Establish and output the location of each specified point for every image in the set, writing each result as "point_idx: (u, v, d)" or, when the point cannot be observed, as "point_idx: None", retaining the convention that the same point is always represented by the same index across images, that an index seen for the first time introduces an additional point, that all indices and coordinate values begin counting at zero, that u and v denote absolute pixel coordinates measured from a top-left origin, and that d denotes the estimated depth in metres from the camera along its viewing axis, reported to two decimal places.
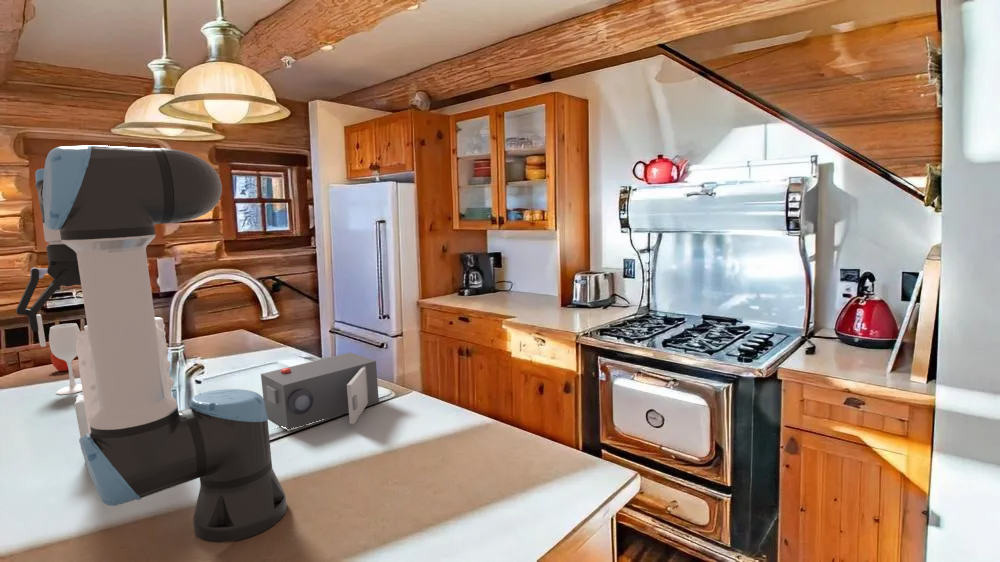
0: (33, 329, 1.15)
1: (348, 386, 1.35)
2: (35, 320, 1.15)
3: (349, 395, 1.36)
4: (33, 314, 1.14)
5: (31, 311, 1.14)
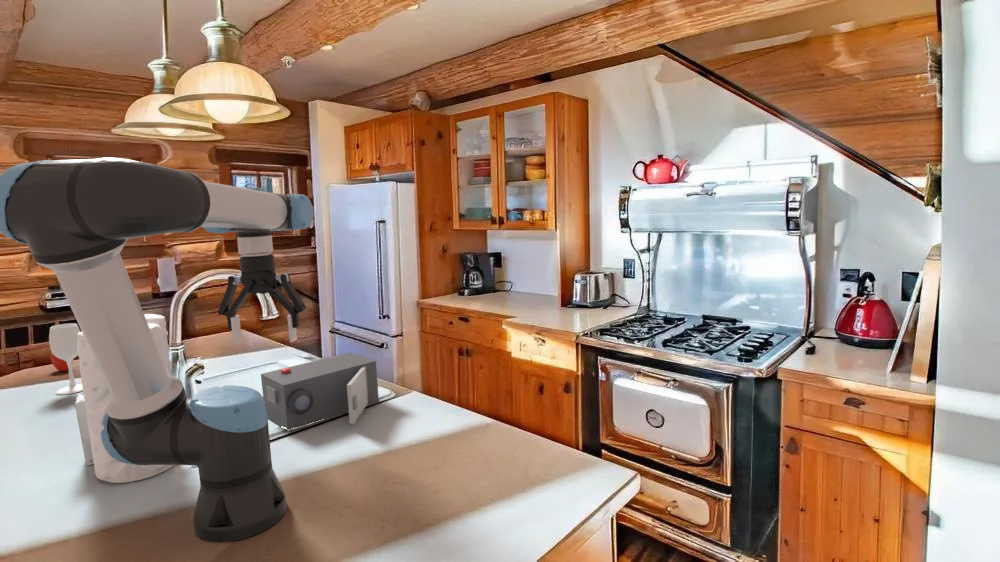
0: (229, 328, 1.33)
1: (348, 386, 1.35)
2: None
3: (349, 395, 1.36)
4: (228, 315, 1.32)
5: (227, 313, 1.32)
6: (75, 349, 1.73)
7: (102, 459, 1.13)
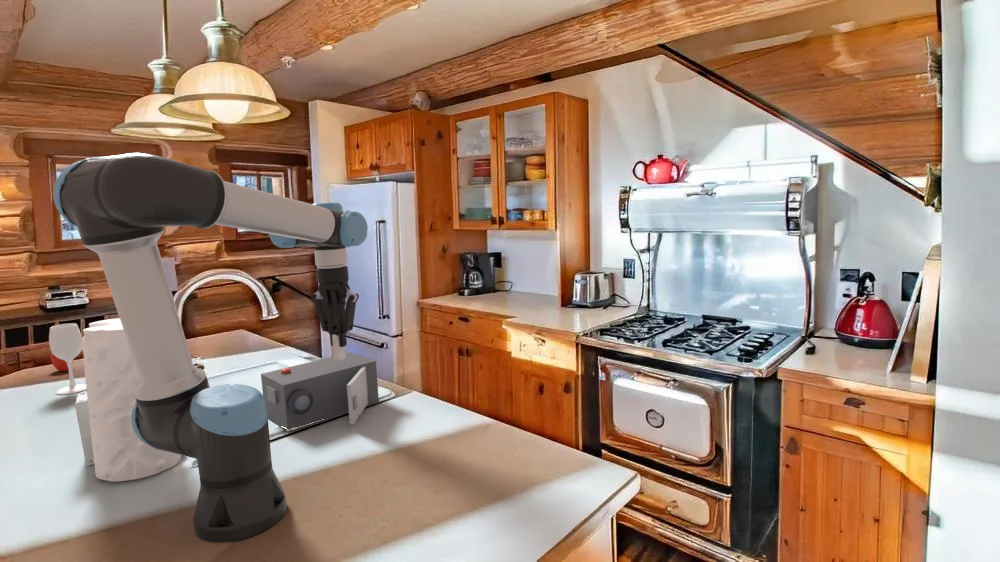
0: (332, 344, 1.39)
1: (348, 386, 1.35)
2: None
3: (349, 395, 1.36)
4: (330, 332, 1.38)
5: (329, 330, 1.38)
6: (75, 349, 1.73)
7: (104, 457, 1.13)
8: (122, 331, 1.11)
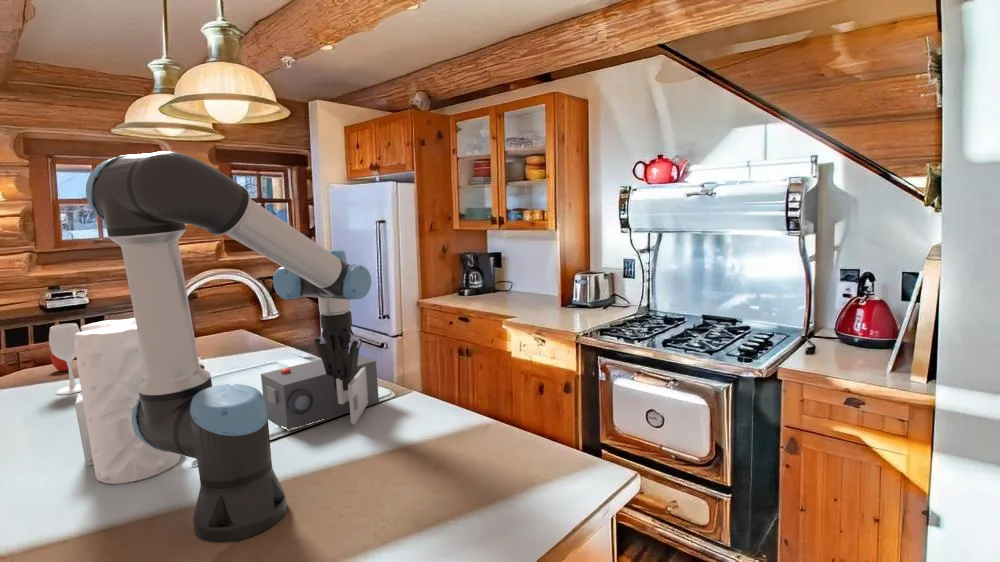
0: (335, 388, 1.41)
1: (349, 386, 1.35)
2: None
3: (350, 395, 1.36)
4: (334, 376, 1.40)
5: (332, 374, 1.40)
6: None
7: (103, 460, 1.13)
8: (114, 334, 1.10)
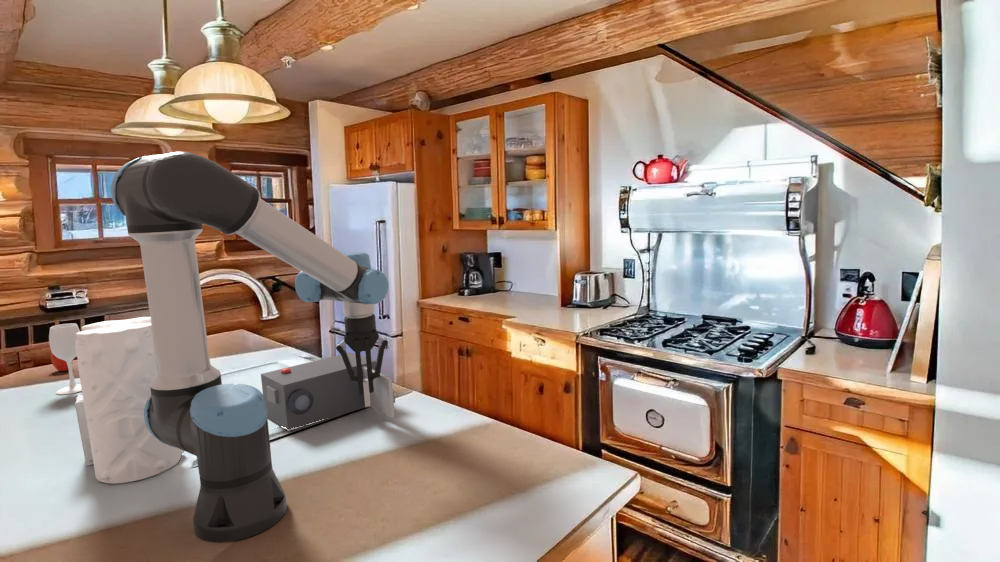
0: (360, 392, 1.40)
1: (389, 380, 1.38)
2: (362, 385, 1.40)
3: (390, 389, 1.39)
4: (361, 380, 1.39)
5: (358, 379, 1.39)
6: None
7: (103, 459, 1.13)
8: (115, 334, 1.10)
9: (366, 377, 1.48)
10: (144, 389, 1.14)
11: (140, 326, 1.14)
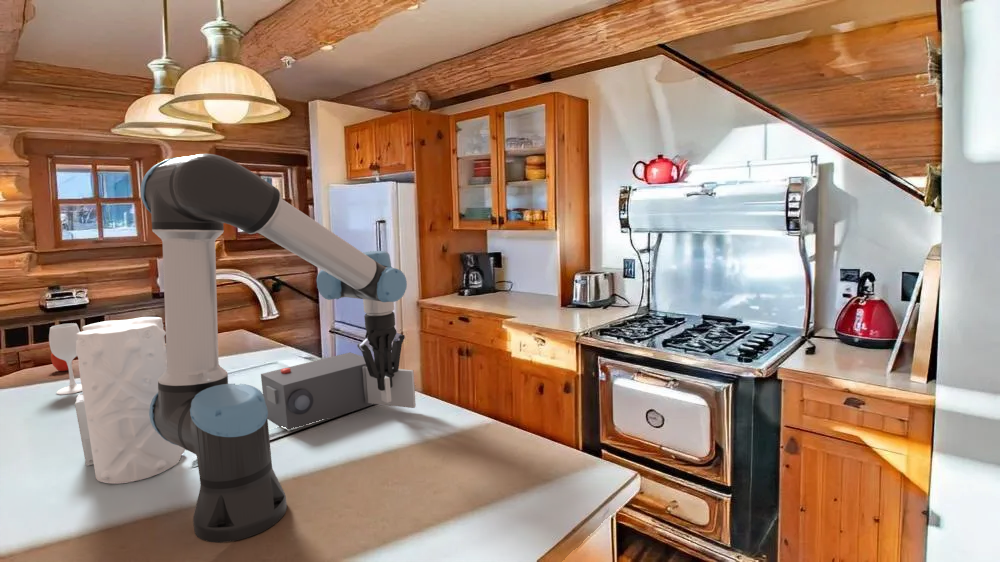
0: (382, 389, 1.42)
1: (412, 372, 1.45)
2: (383, 381, 1.42)
3: (413, 380, 1.45)
4: (383, 376, 1.42)
5: (381, 375, 1.41)
6: (75, 349, 1.73)
7: (103, 459, 1.13)
8: (116, 334, 1.10)
9: (370, 376, 1.49)
10: (145, 390, 1.14)
11: (141, 326, 1.14)
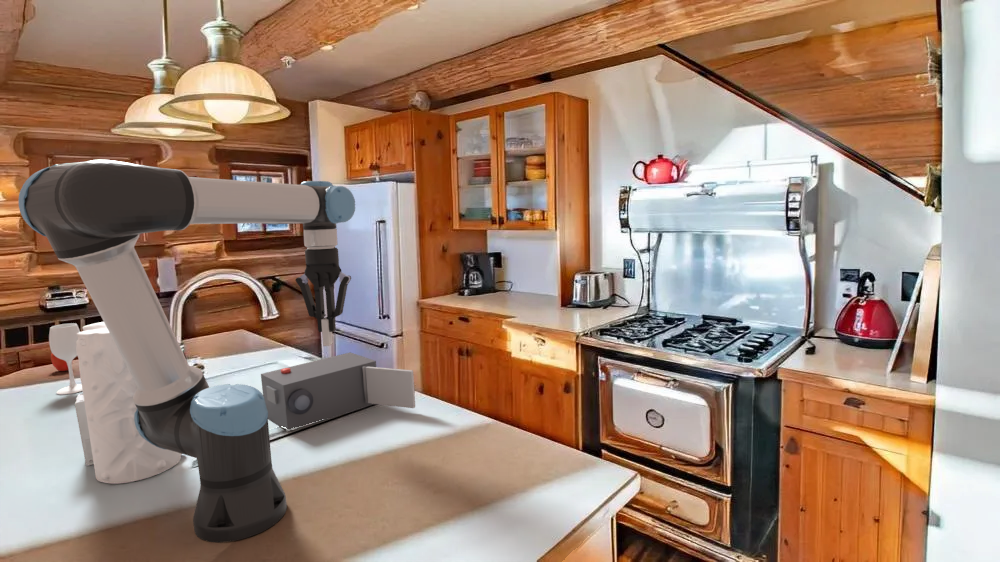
0: (319, 330, 1.33)
1: (412, 372, 1.45)
2: (321, 322, 1.33)
3: (412, 380, 1.45)
4: (319, 317, 1.32)
5: (317, 315, 1.32)
6: (75, 349, 1.73)
7: (103, 459, 1.13)
8: None
9: (370, 376, 1.49)
10: None
11: None
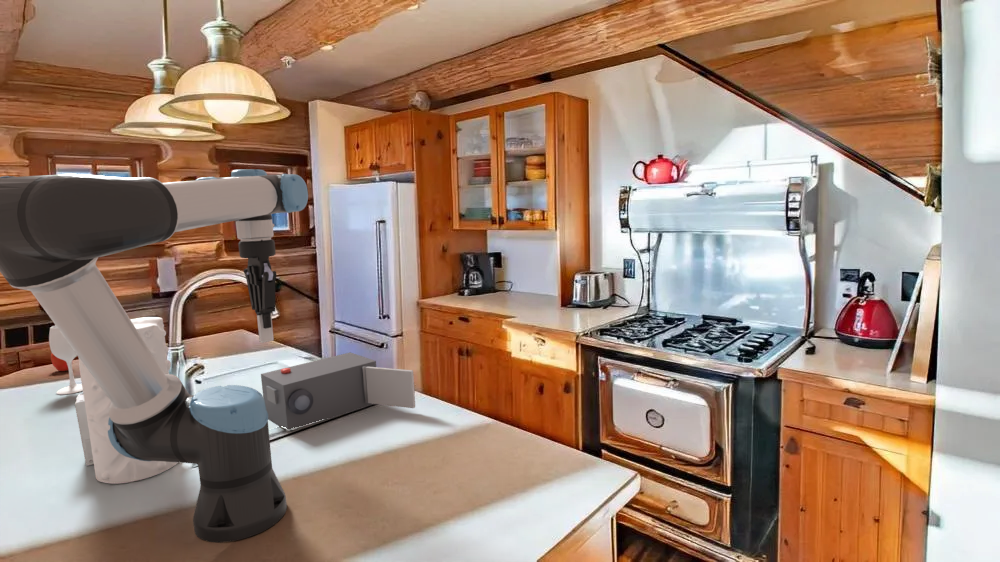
0: None
1: (412, 372, 1.45)
2: None
3: (412, 380, 1.45)
4: (256, 311, 1.27)
5: (255, 309, 1.28)
6: None
7: (103, 459, 1.13)
8: None
9: (370, 376, 1.49)
10: None
11: (142, 326, 1.14)
